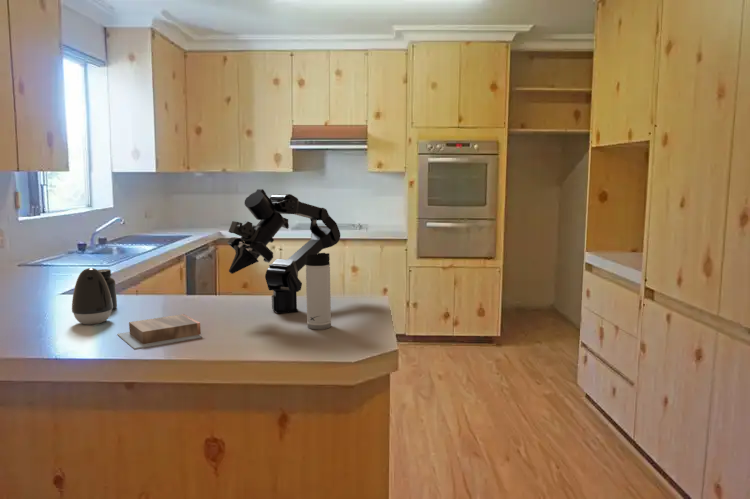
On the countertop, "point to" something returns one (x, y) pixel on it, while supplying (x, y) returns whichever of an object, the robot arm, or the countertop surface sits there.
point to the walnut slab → (164, 328)
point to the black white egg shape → (91, 298)
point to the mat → (137, 344)
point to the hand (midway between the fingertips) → (230, 272)
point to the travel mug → (318, 291)
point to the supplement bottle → (110, 285)
